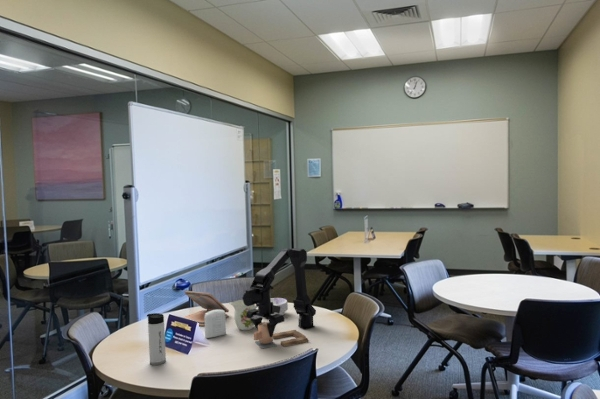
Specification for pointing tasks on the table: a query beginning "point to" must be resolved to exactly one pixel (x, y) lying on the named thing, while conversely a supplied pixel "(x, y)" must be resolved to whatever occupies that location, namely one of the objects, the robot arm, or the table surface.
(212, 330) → the white tombstone
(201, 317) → the case
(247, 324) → the pitcher
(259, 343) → the mat
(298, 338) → the brown u-shaped piece
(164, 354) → the travel mug
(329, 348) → the table surface
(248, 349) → the table surface
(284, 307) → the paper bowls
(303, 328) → the robot arm
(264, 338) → the peach rounded canister
